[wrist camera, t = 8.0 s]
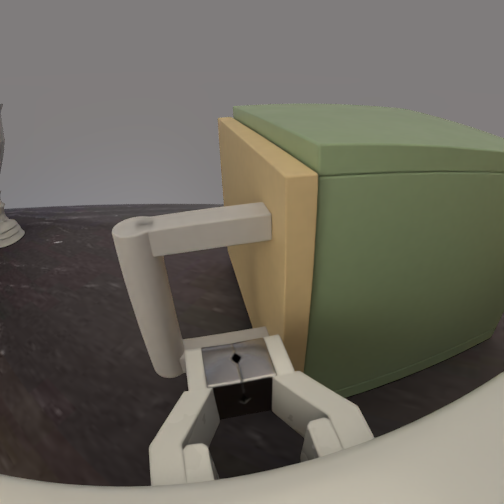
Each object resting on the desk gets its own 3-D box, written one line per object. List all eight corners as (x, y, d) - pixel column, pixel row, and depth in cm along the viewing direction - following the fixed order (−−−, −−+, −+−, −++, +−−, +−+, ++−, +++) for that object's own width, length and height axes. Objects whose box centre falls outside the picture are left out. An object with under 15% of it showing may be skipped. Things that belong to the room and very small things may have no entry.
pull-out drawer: (167, 427, 13) (86, 203, 8) (164, 260, 26) (142, 127, 21) (489, 333, 17) (544, 173, 11) (380, 229, 30) (391, 116, 24)
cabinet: (298, 411, 15) (318, 143, 9) (242, 263, 28) (232, 106, 21) (491, 337, 18) (551, 158, 11) (390, 240, 30) (405, 108, 24)
